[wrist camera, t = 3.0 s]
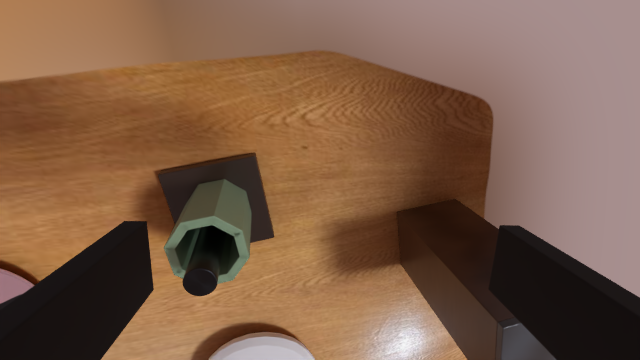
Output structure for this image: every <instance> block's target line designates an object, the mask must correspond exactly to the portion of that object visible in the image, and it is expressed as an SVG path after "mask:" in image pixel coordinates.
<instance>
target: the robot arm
mask: <svg viewBox="0 0 640 360" xmlns="http://www.w3.org/2000/svg"><path fill="white" fill-rule="evenodd" d="M488 289H489V290H490V292H491V293H492V294H493V295H494V296H495V297H496V298H497V299H498V300H499V301H500V302H501V303H502V304H503V305H504V306H505V307H506V308H507V309H508V310H509V311H510V312H511V313H512V314H513V315H514V316H515V317H516V318H517V319H518V320H519V322H520V323H521V324H522V325H523V326H524V327H525V328H526V329H527V330H528V331H529V332H530V333H531V334H532V335H533V336H534V337H535V338H536V339H537V340H538V341H539V342H540V343H541V344H542V345H543V346H544V347H545V348H546V349H547V350H548V352H549V353H550V354H551V355H552V356H553V357H554V358H555V359H556V360H640V298H639V297H638V296H636V295H634V294H633V293H631V292H629V291H627V290H626V289H624V288H622V287H621V286H619V285H617V284H616V283H614V282H613V281H611V280H609V279H608V278H606V277H604V276H603V275H601V274H599V273H597V272H596V271H594V270H592V269H591V268H589V267H587V266H586V265H584V264H582V263H581V262H579V261H577V260H576V259H574V258H572V257H571V256H569V255H567V254H566V253H564V252H562V251H561V250H559V249H557V248H555V247H554V246H552V245H550V244H549V243H547V242H545V241H544V240H542V239H541V238H539V237H537V236H535V235H534V234H532V233H530V232H529V231H527V230H525V229H524V228H522V227H520V226H505V225H502V226H500V227H499V233H498V238H497V244H496V249H495V255H494V261H493V266H492V272H491V277H490V283H489V288H488ZM153 290H154V289H153V279H152V269H151V259H150V250H149V240H148V230H147V221H124V222H123V223H121V224H120V225H118V226H117V227H116V228H114V229H113V230H111V231H110V232H109V233H107V234H106V235H104V236H103V237H102V238H100V239H99V240H97V241H96V242H95V243H93V244H92V245H90V246H89V247H88V248H86V249H85V250H83V251H82V252H81V253H79V254H78V255H76V256H75V257H74V258H72V259H71V260H69V261H68V262H67V263H65V264H64V265H62V266H61V267H60V268H58V269H57V270H55V271H54V272H53V273H51V274H50V275H48V276H47V277H46V278H44V279H43V280H41V281H40V282H39V283H37V284H36V285H34V286H33V287H32V288H30V289H29V290H27V291H26V292H25V293H23V294H20V295H18V296H16V297H13V298H11V299H9V300H7V301H5V302H3V303H1V304H0V360H101V358H102V357H103V356H104V354H105V353H106V352H107V351H108V349H109V348H110V347H111V345H112V344H113V343H114V341H115V340H116V339H117V337H118V336H119V335H120V333H121V332H122V331H123V329H124V328H125V327H126V325H127V324H128V323H129V321H130V320H131V319H132V318H133V316H134V315H135V314H136V312H137V311H138V310H139V308H140V307H141V306H142V304H143V303H144V302H145V300H146V299H147V298H148V296H149V295H150V294H151V292H152V291H153Z"/></svg>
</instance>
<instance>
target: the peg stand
mask: <svg viewBox="0 0 640 360" xmlns="http://www.w3.org/2000/svg"><path fill="white" fill-rule="evenodd" d="M158 177H159V180H160V183H161V186H162V188H163V191H164V194H165V197H166V200H167V203H168V205H169V208H170V211H171V214H172V217H173V220H174V223H175V224H176V222H177V221H178V219H179V217H180V215H181V213H182V211H183V209H184V207H185V205H186V203H187V201H188V200H189V198H190V197H191V195H192V194H193V192H194V191H195V189H196V188H197V186H198V185H199V184H202V183H207V182H212V181H217V180H222V179H225V180H227V181H229V182H230V183H232V184H234V185H236V186H237V187H239V188H241V189H243V190H244V191H246V193H247V197H248V201H249V205H250V209H251V213H252V214H251V236H250V243H251V242H256V241H260V240H265V239H269V238H273V237H274V231H273V227H272V222H271V218H270V214H269V209H268V205H267V201H266V196H265V192H264V188H263V183H262V179H261V175H260V170H259V166H258V162H257V157H256V153H250V154H245V155H240V156H235V157H230V158H224V159H219V160H214V161H209V162H204V163H198V164H193V165H188V166H183V167H178V168H172V169H167V170H162V171H161V172H160V173H159V174H158ZM226 234H227V232H225V231H223V230H221V229H219V228H217V227H215V226H213V225H210V226H205V227H201V228H200V231H199V234H198V237H197V240H196V243H195V246H194V249H193V252H192V254H191V257H190V260H189V263H188V266H187V269H186V272H185V275H184V278H183V286H184V288H185V290H186V291H187V292H188V293H190V294H192V295H195V296H204V295H207V294H210V293H211V292H212V291H213V290H214V289H215V288H216V286H217V282H218V277H219V271H220V266H221V261H222V255H223V250H224V244H225V239H226Z"/></svg>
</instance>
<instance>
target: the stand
mask: <svg viewBox="0 0 640 360" xmlns="http://www.w3.org/2000/svg"><path fill="white" fill-rule="evenodd" d="M397 219H398V233H399V246H400V260H401V265H402V267H403V268H404V269H405V271H406V272H407V274H408V275H409V277H410V278H411V279H412V281H413V282H414V284H415V285H416V287H417V288H418V289H419V291H420V292H421V294H422V295H423V297H424V298H425V299H426V301H427V302H428V304H429V305H430V307H431V308H432V309H433V311H434V312H435V314H436V315H437V317H438V318H439V319H440V321H441V322H442V324H443V325H444V327H445V328H446V329H447V331H448V332H449V334H450V335H451V337H452V338H453V339H454V341H455V342H456V344H457V345H458V347H459V348H460V349H461V351H462V352H463V354H464V355H465V357H466V358H467V360H556V359H555V358H554V357H553V356H552V355H551V354H550V353H549V352H548V350H547V349H546V348H545V347H544V346H543V345H542V344H541V343H540V342H539V341H538V340H537V339H536V338H535V337H534V336H533V335H532V334H531V333H530V332H529V331H528V330H527V329H526V328H525V327H524V326H523V325H522V324H521V323H520V322H519V320H518V319H517V318H516V317H515V316H514V315H513V314H512V313H511V312H510V311H509V310H508V309H507V308H506V307H505V306H504V305H503V304H502V303H501V302H500V301H499V300H498V299H497V298H496V297H495V296H494V295H493V294H492V293H491V292H490V290H489V289H488V288H489V283H490V277H491V272H492V266H493V261H494V255H495V249H496V244H497V238H498V233H499V229H498V228H496V227H495V226H493V225H492V224H490V223H489V222H487V221H486V220H485V219H483V218H482V217H481V216H479V215H478V214H476V213H475V212H473V211H472V210H471V209H469V208H468V207H466V206H465V205H463V204H462V203H461V202H459V201H458V200H456V199H453V200H448V201H444V202H439V203H435V204H430V205H426V206H421V207H417V208H412V209H408V210H403V211H399V212H397Z"/></svg>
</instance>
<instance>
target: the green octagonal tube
mask: <svg viewBox="0 0 640 360" xmlns="http://www.w3.org/2000/svg"><path fill="white" fill-rule="evenodd" d="M251 214H252V213H251V209H250V205H249V201H248V197H247V193H246V191H244V190H243V189H241V188H239V187H237V186H236V185H234V184H232V183H230V182H229V181H227V180H225V179H222V180H217V181H212V182H207V183H202V184H199V185H198V186H197V188H196V189H195V191H194V192H193V194H192V195H191V197H190V198H189V200H188V201H187V203H186V205H185V207H184V209H183V211H182V213H181V215H180V217H179V219H178V221H177V222H176V224H175V226H174V228H173V230H172V232H171V234H170V236H169V238H168V240H167V242H166V244H165V246H164V249H165V252H166V255H167V257H168V260H169V263H170V265H171V268H172V271H173V273H174V275H176V276H178V277H181V278H184V275H185V272H186V269H187V266H188V263H189V260H190V257H191V254H192V252H193V249H194V246H195V243H196V240H197V237H198V234H199V231H200V228H201V227H205V226H210V225H213V226H215V227H217V228H219V229H221V230H223V231H225V232H227V234H226V239H225V244H224V250H223V255H222V261H221V266H220V271H219V277H218V282H217V284H219V283H223V282H227V281H231V280H233V279H234V278H235V277H236V275H237V274H238V272H239V271H240V270H241V268H242V267H243V266H244V264H245V263H246V261H247V260H248V259H249V257H250V236H251Z"/></svg>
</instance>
